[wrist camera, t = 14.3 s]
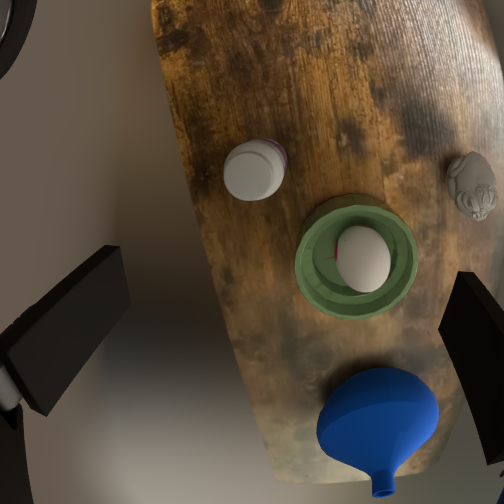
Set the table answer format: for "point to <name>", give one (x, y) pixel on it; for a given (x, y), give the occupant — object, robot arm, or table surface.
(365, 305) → the green bowl
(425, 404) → the vase
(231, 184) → the pill bottle
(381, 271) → the stress ball
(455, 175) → the frog figurine
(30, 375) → the robot arm
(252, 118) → the table surface
